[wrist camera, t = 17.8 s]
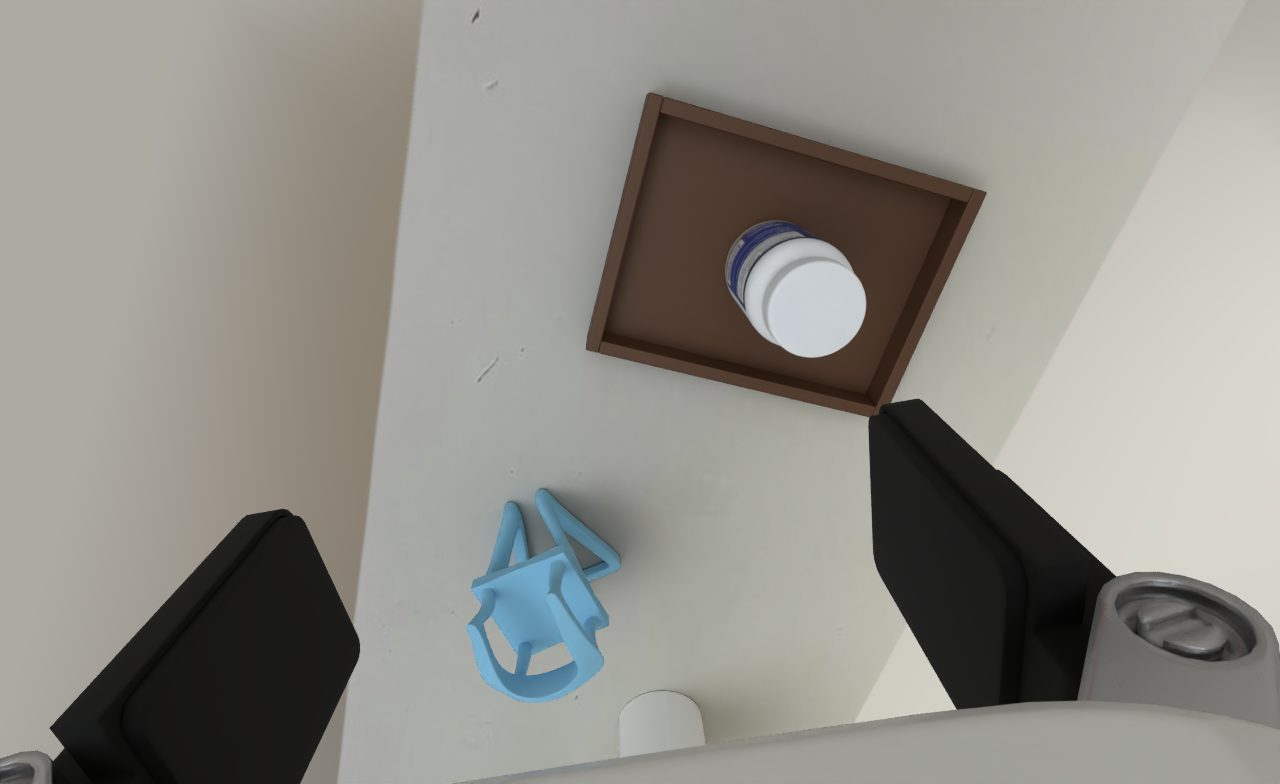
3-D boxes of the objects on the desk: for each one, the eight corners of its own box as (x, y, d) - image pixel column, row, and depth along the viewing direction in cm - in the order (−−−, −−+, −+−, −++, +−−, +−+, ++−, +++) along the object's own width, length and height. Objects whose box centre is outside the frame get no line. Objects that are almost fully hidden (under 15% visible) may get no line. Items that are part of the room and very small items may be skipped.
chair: (572, 474, 45) (559, 591, 34) (622, 561, 48) (624, 694, 37) (475, 515, 46) (432, 641, 35) (530, 597, 49) (506, 736, 38)
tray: (587, 337, 41) (585, 350, 39) (646, 93, 35) (649, 91, 33) (868, 404, 44) (882, 420, 41) (965, 187, 38) (987, 192, 36)
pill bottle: (831, 283, 40) (896, 333, 30) (748, 327, 41) (786, 389, 31) (793, 199, 37) (851, 226, 28) (706, 248, 38) (735, 290, 29)
